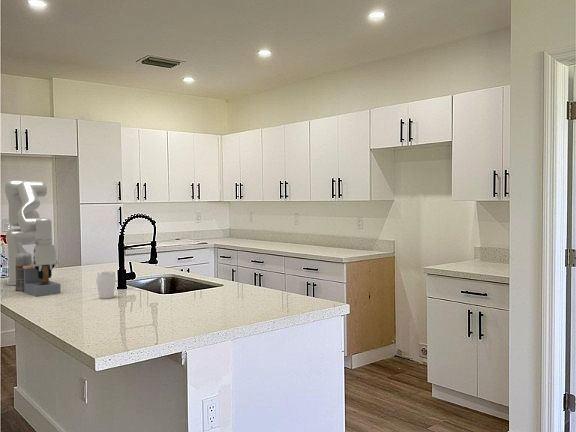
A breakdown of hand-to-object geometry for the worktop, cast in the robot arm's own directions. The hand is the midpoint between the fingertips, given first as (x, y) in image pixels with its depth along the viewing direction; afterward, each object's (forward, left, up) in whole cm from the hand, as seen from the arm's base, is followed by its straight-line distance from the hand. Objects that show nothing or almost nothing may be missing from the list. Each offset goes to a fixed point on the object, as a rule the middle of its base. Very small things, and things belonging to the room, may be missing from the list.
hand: (44, 277), depth 264 cm
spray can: (-20, -3, -9) cm, 22 cm away
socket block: (-4, 0, -8) cm, 9 cm away
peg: (0, 0, -3) cm, 3 cm away
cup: (+32, +17, -9) cm, 37 cm away
